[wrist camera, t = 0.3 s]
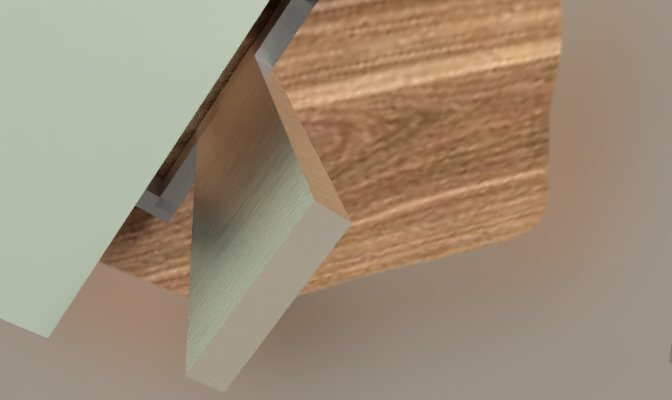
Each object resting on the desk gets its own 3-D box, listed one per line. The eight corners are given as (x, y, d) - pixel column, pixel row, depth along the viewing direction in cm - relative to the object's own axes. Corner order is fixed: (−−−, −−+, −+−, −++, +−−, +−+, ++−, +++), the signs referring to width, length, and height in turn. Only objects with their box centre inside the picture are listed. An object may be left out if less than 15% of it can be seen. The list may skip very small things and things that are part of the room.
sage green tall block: (-59, 112, 35) (-228, 223, 22) (122, -218, 31) (55, -341, 17) (103, 197, 39) (47, 338, 25) (285, -87, 35) (336, -103, 21)
